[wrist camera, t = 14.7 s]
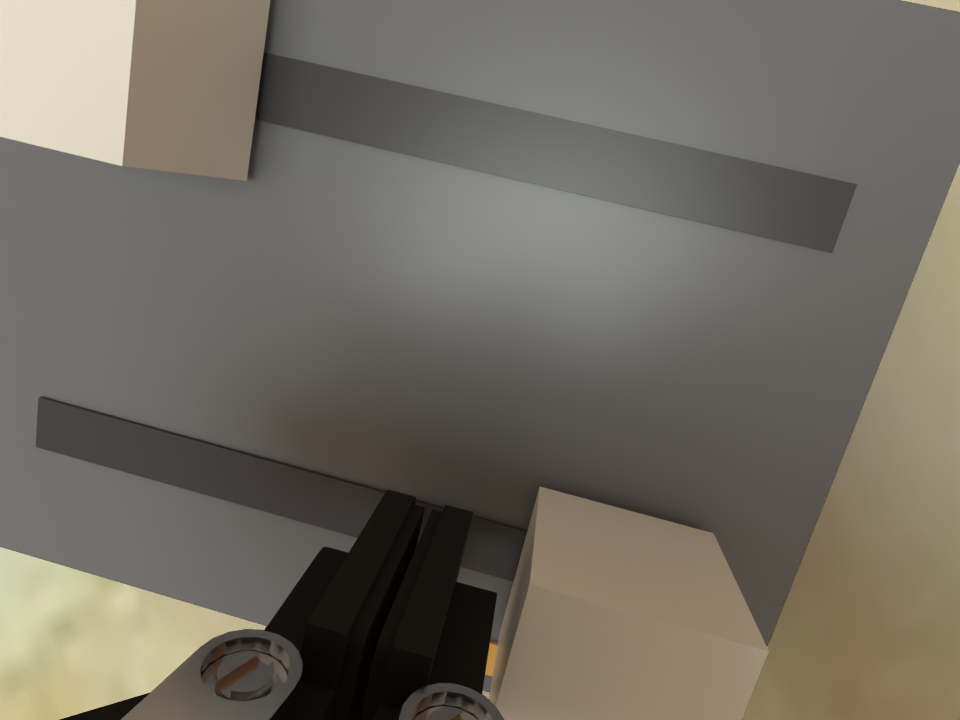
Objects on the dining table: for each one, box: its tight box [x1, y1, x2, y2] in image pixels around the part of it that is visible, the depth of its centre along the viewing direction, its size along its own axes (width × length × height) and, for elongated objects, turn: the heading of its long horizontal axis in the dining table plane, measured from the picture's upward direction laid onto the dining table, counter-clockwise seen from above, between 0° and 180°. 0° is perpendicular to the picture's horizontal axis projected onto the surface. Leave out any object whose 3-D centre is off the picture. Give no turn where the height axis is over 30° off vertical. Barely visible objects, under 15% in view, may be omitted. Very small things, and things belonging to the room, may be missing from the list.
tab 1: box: [0, 0, 270, 181], centre depth 10 cm, size 4×4×4 cm
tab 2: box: [489, 487, 769, 720], centre depth 11 cm, size 4×4×4 cm
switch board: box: [0, 0, 960, 692], centre depth 14 cm, size 22×15×3 cm
